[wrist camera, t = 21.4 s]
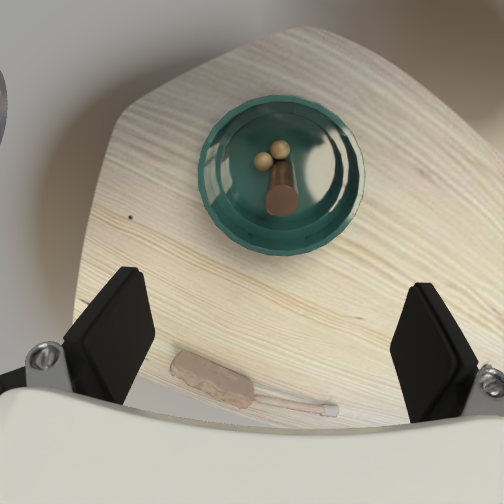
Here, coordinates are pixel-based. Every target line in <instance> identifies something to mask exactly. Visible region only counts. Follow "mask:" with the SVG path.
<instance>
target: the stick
mask: <svg viewBox="0 0 504 504" xmlns="http://www.w3.org/2000/svg"><path fill="white" fill-rule="evenodd" d="M265 204H266V207H267V209H268V210H269V211H270V212H271V213H272V214H274V215H276V216H279V217H285V216H289V215H291V214H292V213H294V212H295V211H296V209H297V208H298V205H299V196H298V189H297V183H296V176H295V170H294V166H293V164H292V163H291V162H290V161H289V160H287V159H279V160H277V161H275V162H274V163H273V166H272V168H271V173H270V177H269V182H268V187H267V192H266V197H265Z"/></svg>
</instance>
